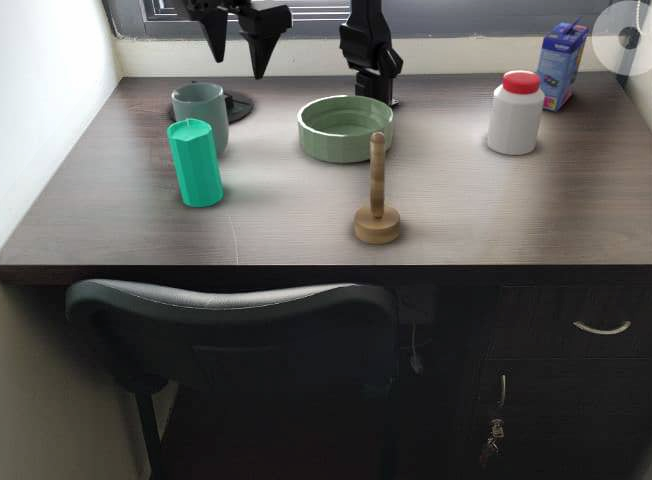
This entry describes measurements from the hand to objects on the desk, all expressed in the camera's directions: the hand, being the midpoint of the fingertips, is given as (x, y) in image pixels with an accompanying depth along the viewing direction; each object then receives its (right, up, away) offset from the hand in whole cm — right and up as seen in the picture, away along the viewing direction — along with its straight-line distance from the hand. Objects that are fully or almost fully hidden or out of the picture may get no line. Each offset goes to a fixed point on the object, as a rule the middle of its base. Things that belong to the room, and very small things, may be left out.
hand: (238, 70), depth 86 cm
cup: (-7, -9, +12) cm, 17 cm away
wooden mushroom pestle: (+20, -24, -6) cm, 31 cm away
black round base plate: (-10, +2, +24) cm, 26 cm away
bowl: (+15, -7, +13) cm, 21 cm away
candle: (-6, -18, +2) cm, 19 cm away
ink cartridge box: (+53, +4, +25) cm, 59 cm away
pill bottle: (+42, -8, +12) cm, 45 cm away
